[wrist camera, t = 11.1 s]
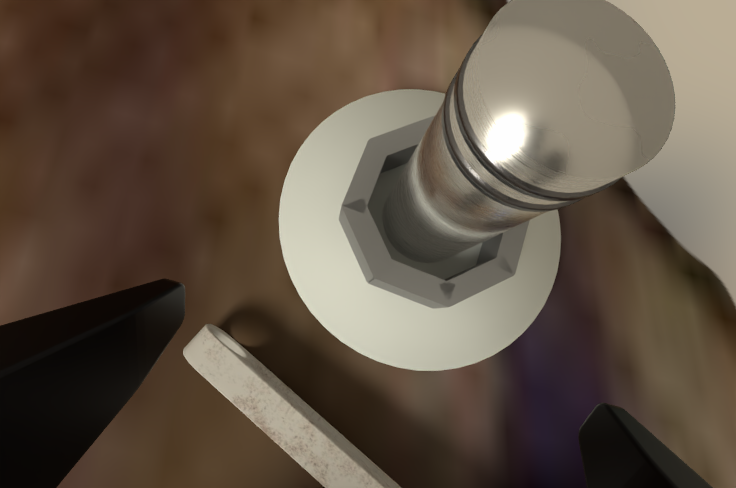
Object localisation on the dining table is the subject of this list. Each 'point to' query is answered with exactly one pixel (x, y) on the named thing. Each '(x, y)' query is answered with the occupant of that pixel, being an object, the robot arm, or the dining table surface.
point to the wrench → (282, 413)
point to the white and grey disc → (389, 267)
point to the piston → (532, 125)
